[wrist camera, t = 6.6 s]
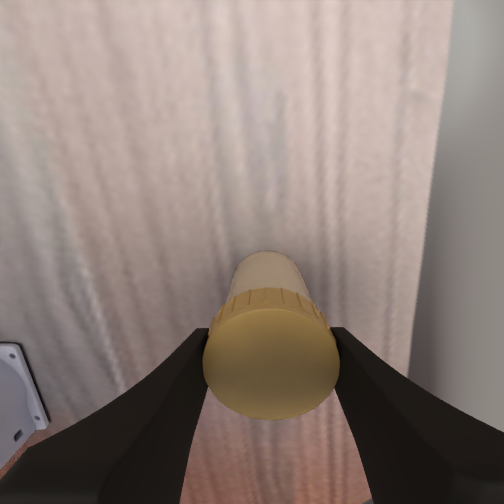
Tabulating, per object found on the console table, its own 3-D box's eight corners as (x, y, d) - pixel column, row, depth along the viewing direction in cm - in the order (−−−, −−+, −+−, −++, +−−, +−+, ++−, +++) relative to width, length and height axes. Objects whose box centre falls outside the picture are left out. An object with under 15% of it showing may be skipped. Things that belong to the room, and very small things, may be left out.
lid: (276, 260, 10) (279, 277, 9) (353, 345, 12) (370, 376, 10) (185, 334, 12) (171, 362, 10) (263, 403, 13) (263, 440, 11)
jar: (301, 312, 19) (328, 399, 11) (235, 315, 19) (220, 401, 12) (301, 248, 17) (332, 301, 10) (229, 252, 17) (207, 306, 10)
